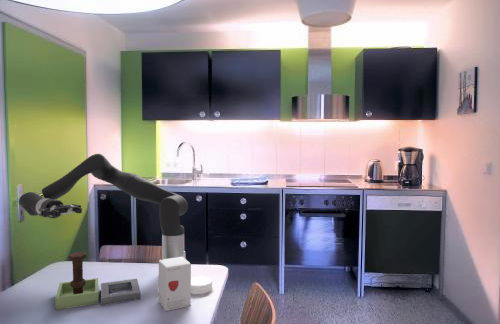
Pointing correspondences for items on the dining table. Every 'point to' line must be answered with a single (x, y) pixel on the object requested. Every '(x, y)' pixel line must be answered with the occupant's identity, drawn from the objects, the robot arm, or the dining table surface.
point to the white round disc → (200, 285)
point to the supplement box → (174, 283)
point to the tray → (77, 295)
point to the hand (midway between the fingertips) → (69, 212)
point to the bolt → (77, 272)
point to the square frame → (122, 296)
